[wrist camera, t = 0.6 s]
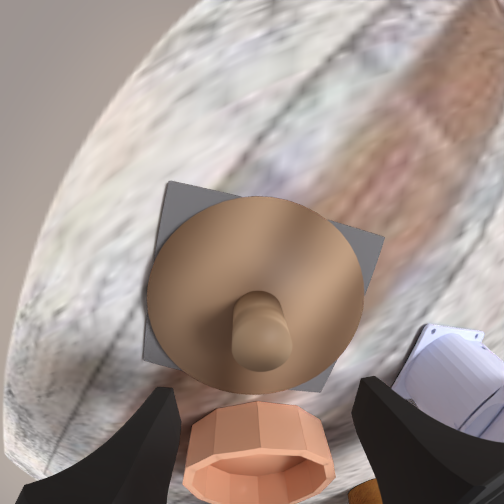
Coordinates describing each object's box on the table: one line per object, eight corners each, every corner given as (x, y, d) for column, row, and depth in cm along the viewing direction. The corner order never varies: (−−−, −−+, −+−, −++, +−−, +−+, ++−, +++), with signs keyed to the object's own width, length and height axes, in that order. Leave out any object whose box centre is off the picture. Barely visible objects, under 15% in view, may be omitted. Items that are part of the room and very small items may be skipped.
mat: (382, 236, 18) (385, 237, 17) (319, 389, 21) (320, 392, 20) (170, 180, 16) (168, 180, 16) (144, 357, 19) (143, 360, 19)
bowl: (344, 408, 22) (361, 448, 17) (296, 476, 25) (302, 509, 20) (199, 390, 20) (192, 437, 16) (184, 465, 23) (178, 501, 19)
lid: (386, 230, 17) (428, 248, 13) (318, 396, 21) (332, 439, 16) (171, 172, 16) (144, 171, 11) (143, 365, 19) (124, 407, 15)
